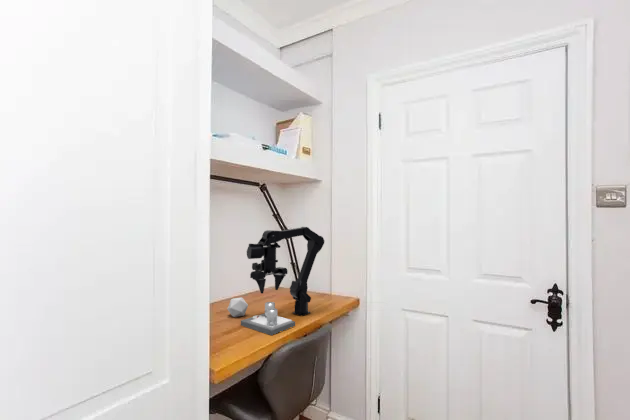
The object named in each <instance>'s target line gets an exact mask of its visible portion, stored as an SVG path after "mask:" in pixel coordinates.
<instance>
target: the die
mask: <svg viewBox="0 0 630 420" xmlns="http://www.w3.org/2000/svg"><path fill="white" fill-rule="evenodd" d="M248 306H249V304H248V303H247V302H246V301H245V299H244V298H243V297H236V298H235V297H234V298H231V299H230V301H229V304H228V307H226V309H227V312H229V314H230V315H231V317H233V318H237V317H238V318H239V317H244V316H245V314H246V313H247V312H246V311H247V309H248Z"/></svg>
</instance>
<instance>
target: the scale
mask: <svg viewBox="0 0 630 420" xmlns="http://www.w3.org/2000/svg"><path fill="white" fill-rule="evenodd" d="M240 326H241V327H245V328H247V329H251V330H254V331H256V332H260V333H263V334H265V333H266V335H270V336H274V335H273V334H275V335H277V334H279V333H278V332H280V331H282V332H284V331H283V330H285V331H287V330H289V329H288V328H290V327H292V328H294V327H293V326H295V327H296V321H293V319H290V318H287V317H286V318H285V317H282V316H280V315H277V325H276V326H268V325H267V318H265V312H263V313H261V314H258V315H257V314H256V315H253V316H252V317H248V318H246V319H241V320H240ZM286 329H287V330H286ZM290 329H291V328H290ZM276 333H277V334H276ZM280 333H281V332H280Z"/></svg>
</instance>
